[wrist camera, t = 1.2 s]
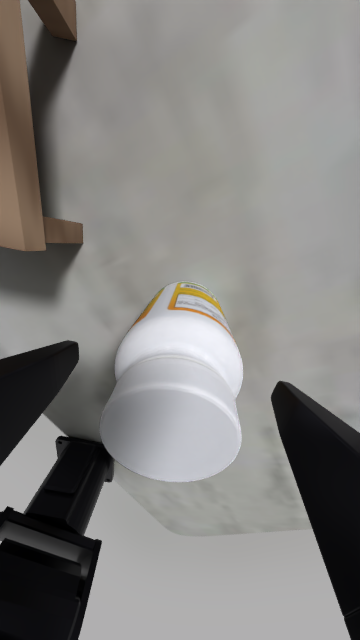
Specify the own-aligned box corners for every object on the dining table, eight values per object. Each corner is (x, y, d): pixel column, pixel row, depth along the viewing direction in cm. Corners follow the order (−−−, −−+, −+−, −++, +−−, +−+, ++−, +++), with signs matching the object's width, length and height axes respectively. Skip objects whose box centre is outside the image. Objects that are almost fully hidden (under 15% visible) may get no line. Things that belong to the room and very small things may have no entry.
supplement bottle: (164, 352, 15) (123, 503, 6) (139, 293, 14) (31, 388, 5) (228, 336, 14) (284, 488, 5) (209, 269, 13) (249, 332, 4)
